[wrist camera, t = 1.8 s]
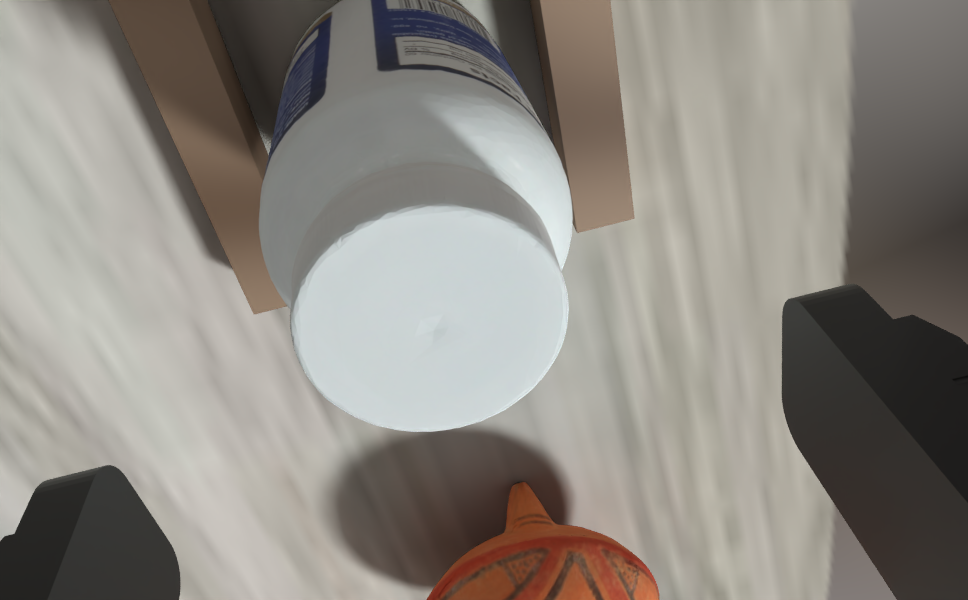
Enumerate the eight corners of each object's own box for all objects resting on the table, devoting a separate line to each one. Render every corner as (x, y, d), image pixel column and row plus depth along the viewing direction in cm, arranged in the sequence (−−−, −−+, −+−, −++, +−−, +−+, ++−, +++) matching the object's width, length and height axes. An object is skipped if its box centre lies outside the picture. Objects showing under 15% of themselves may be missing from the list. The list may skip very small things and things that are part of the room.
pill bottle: (354, 230, 21) (355, 513, 13) (240, 45, 18) (150, 263, 10) (541, 144, 20) (663, 386, 12) (455, -62, 17) (542, 80, 9)
